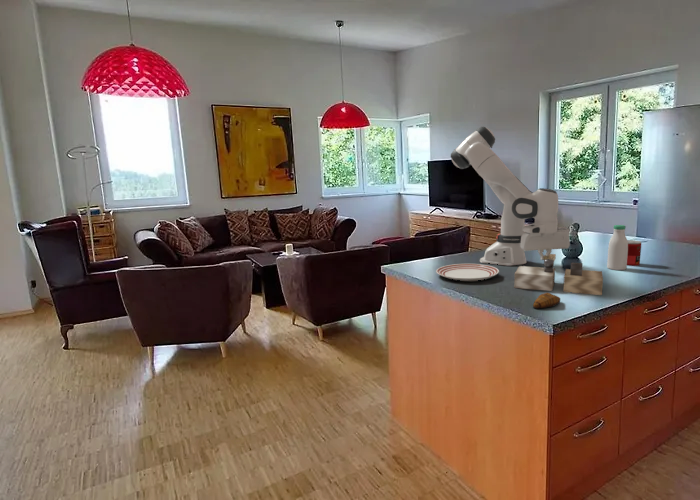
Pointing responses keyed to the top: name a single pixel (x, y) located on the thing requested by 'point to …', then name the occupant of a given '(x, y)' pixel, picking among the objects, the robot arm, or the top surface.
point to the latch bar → (550, 260)
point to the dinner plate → (467, 272)
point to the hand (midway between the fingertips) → (544, 259)
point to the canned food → (633, 253)
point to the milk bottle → (618, 249)
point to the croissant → (546, 301)
